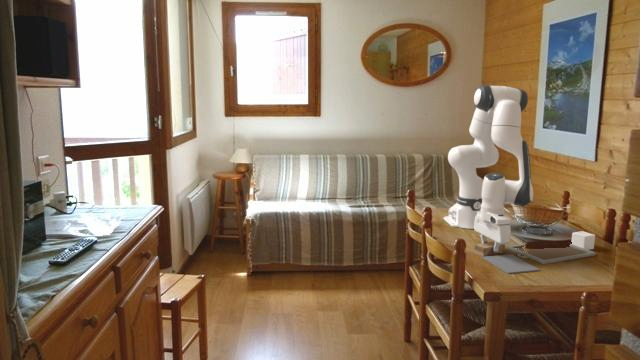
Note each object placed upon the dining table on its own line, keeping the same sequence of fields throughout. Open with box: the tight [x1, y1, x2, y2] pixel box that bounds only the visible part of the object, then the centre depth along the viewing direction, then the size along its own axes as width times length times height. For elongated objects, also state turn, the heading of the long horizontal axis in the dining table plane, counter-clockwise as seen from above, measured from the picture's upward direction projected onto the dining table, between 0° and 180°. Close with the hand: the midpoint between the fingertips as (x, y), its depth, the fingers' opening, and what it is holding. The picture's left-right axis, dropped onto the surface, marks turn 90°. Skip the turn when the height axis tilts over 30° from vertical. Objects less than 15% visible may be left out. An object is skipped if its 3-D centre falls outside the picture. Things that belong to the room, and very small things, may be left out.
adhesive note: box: [570, 230, 596, 251], centre depth 200 cm, size 6×6×6 cm
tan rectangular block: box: [474, 240, 506, 257], centre depth 194 cm, size 11×5×4 cm, turn 115°
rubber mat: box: [481, 253, 541, 275], centre depth 181 cm, size 17×13×1 cm
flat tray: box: [506, 243, 597, 265], centre depth 195 cm, size 19×2×30 cm
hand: (489, 248), depth 194 cm, fingers open, 6 cm apart
